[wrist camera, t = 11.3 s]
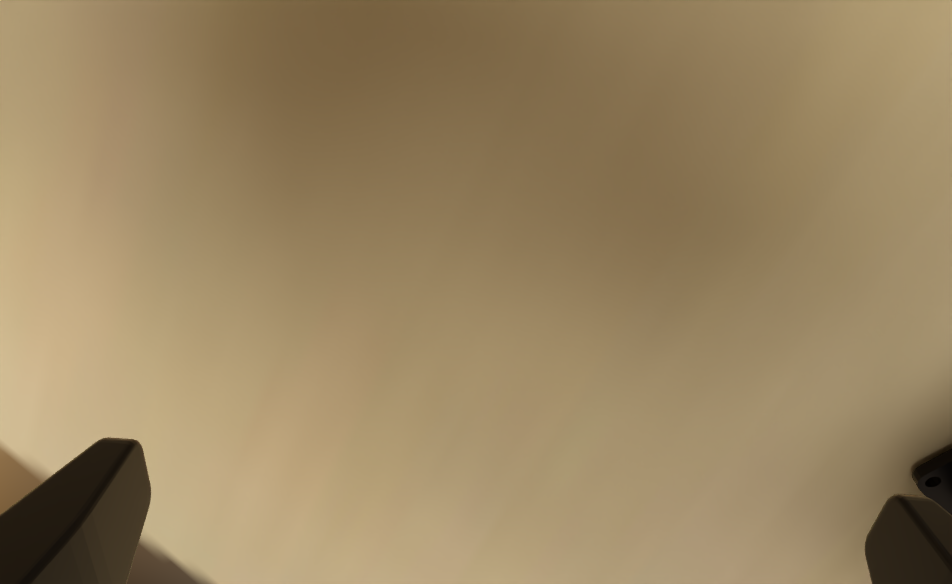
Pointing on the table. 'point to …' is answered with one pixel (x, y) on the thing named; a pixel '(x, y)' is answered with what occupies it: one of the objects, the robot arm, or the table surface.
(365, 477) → the table surface
